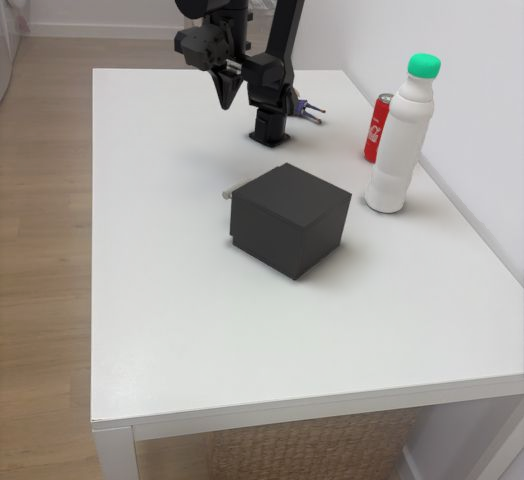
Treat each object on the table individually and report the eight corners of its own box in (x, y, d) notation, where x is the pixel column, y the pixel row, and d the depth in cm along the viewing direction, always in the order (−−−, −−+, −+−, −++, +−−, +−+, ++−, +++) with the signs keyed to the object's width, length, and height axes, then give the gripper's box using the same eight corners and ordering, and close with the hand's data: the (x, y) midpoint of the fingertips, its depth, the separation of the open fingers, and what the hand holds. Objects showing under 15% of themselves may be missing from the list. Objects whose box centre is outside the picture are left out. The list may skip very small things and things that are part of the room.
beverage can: (387, 166, 107) (404, 106, 98) (361, 161, 107) (376, 101, 98) (388, 154, 110) (404, 95, 101) (363, 149, 110) (378, 90, 102)
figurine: (330, 104, 116) (274, 79, 120) (323, 100, 112) (266, 75, 117) (318, 131, 118) (264, 105, 123) (312, 127, 115) (256, 101, 119)
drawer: (210, 223, 86) (210, 180, 80) (254, 197, 93) (257, 156, 87) (285, 267, 80) (292, 224, 75) (327, 236, 87) (336, 194, 81)
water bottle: (404, 199, 99) (452, 54, 80) (399, 218, 94) (448, 70, 76) (368, 189, 100) (406, 44, 81) (360, 208, 95) (399, 59, 77)
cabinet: (232, 244, 84) (235, 190, 77) (279, 213, 92) (286, 162, 84) (294, 280, 80) (304, 227, 73) (339, 245, 87) (352, 193, 80)
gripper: (145, -4, 77) (152, 103, 89) (242, 32, 71) (235, 144, 82) (198, -15, 84) (197, 86, 95) (291, 17, 77) (279, 123, 88)
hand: (225, 109), depth 90 cm, fingers closed
